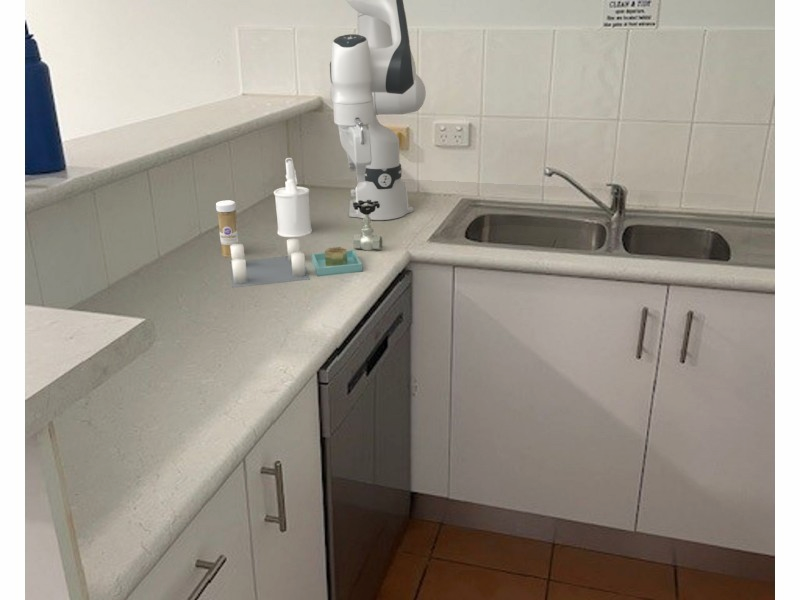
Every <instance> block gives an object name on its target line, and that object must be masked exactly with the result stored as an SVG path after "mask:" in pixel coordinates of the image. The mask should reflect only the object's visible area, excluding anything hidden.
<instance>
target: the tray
mask: <svg viewBox="0 0 800 600" xmlns="http://www.w3.org/2000/svg"><path fill="white" fill-rule="evenodd" d="M359 258H360V257H359V256H358V255H357V253H356V251H355V249H352V250H351V249H349V250H347V265H339V266H329V267H327V266H326V263H325V252H319V253H318V252H317V253H311V263H312V266H313V268H314V270H315V273H316V275H317V277H325V276H335V275H344V274H352V273H353V274H354V273H361V272H363V264H362V263H363V262H361V260H360V259H359Z"/></svg>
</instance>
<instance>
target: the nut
mask: <svg viewBox="0 0 800 600" xmlns="http://www.w3.org/2000/svg"><path fill="white" fill-rule="evenodd" d="M347 251H348V250H347V248H344V247H341V246H334V247H328V248H327V249H326V250H325V251H324V253H325V263H326V266H327V267H329V266H339V265H347Z"/></svg>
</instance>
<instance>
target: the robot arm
mask: <svg viewBox="0 0 800 600" xmlns="http://www.w3.org/2000/svg"><path fill="white" fill-rule="evenodd" d="M346 2H347V3H348V5H350V7H352V9H354V10H355V11H356V12H357V34H353V33H352V34H344V35H340V36H337V37H335V38H334V39H333V40H332V42H331V43H332V45H331V52H330V53H331V54H330V55H331V56H330V61H329V77H330V83H331V86H330V91H329V93H330V94H329V96H330V102H331V103H332V110H333V124H335V125H337V127H338V132H339V141H340V144H341V147H342V148H343V150H344V152H346V157H347V160H348V169H349V171H350V172H355V179H356V181H357V183H356V186H355V188H354V189H353V188H351V189H350V198H354V199H350V200H349V211H348V216H349V218H360V219H363V218H364V217H365V214H363V213H361V212H360V210H359V208H358V210H355V209H354V207H353V203H354V202H357V203H358V201H359V200H362V201H367V200H371V202H374V201H378V203H379V204H380V208H377V206H376V209H375V211H374V212H371V214H369V217H370V218H371V220H373V221H384V220H385V221H388V220H394V219H399V218H402V217H405V216H406V215H407V214H410V213H412V212H414V207H413V206H411V205H409V200H408V186H407V183H406V182H405V181H404V180H403V179H402V171H403V170H402V164H401V163H400V160H401V159H400V139H399V136H398V134H397V133H396V132H395V131H393V130H392V129H390V128H389V127H387V126H385V125H383V124H381V123H380V122H379V120H378V118H377V116H379V115H405V114H412V113H416V112H418V111H419V110H421V108H422V107H423V106H424V102H425V99H426V91H427V90H426V87H425V84H424V81H423V80H422V78H421V77H420V76H419V75H418V74H417V68H416V62H415V59H414V56H413V53H412V51H411V45H410V35H409V29H408V21H407V14H406V11H405V5H404V0H346Z"/></svg>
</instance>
